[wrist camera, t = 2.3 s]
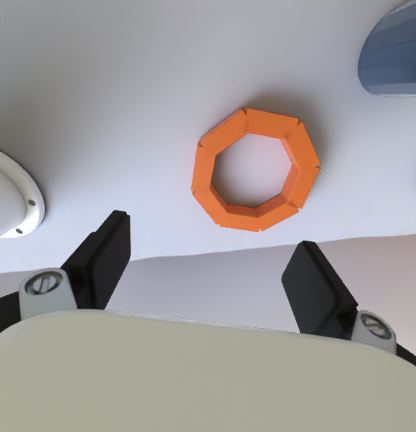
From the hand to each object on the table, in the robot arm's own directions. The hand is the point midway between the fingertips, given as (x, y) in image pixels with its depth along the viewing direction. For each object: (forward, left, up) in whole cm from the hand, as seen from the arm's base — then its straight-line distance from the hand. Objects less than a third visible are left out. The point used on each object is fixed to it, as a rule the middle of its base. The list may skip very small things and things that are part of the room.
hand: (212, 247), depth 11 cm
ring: (+5, 0, -15) cm, 15 cm away
